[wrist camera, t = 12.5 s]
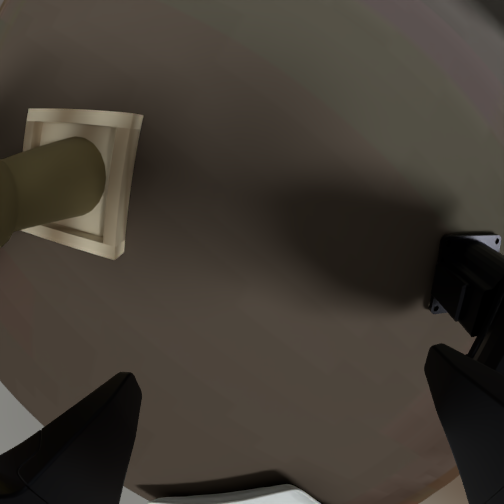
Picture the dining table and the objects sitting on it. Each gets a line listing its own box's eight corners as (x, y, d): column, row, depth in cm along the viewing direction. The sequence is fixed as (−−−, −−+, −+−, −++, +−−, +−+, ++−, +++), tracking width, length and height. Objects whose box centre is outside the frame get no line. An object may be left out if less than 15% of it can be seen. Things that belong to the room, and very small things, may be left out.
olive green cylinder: (36, 167, 19) (-73, 197, 8) (83, 119, 17) (-40, 122, 7) (68, 230, 20) (-35, 291, 10) (120, 188, 19) (1, 237, 9)
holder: (143, 115, 18) (133, 113, 16) (124, 252, 21) (114, 260, 19) (41, 109, 17) (28, 108, 16) (31, 224, 21) (20, 230, 19)
